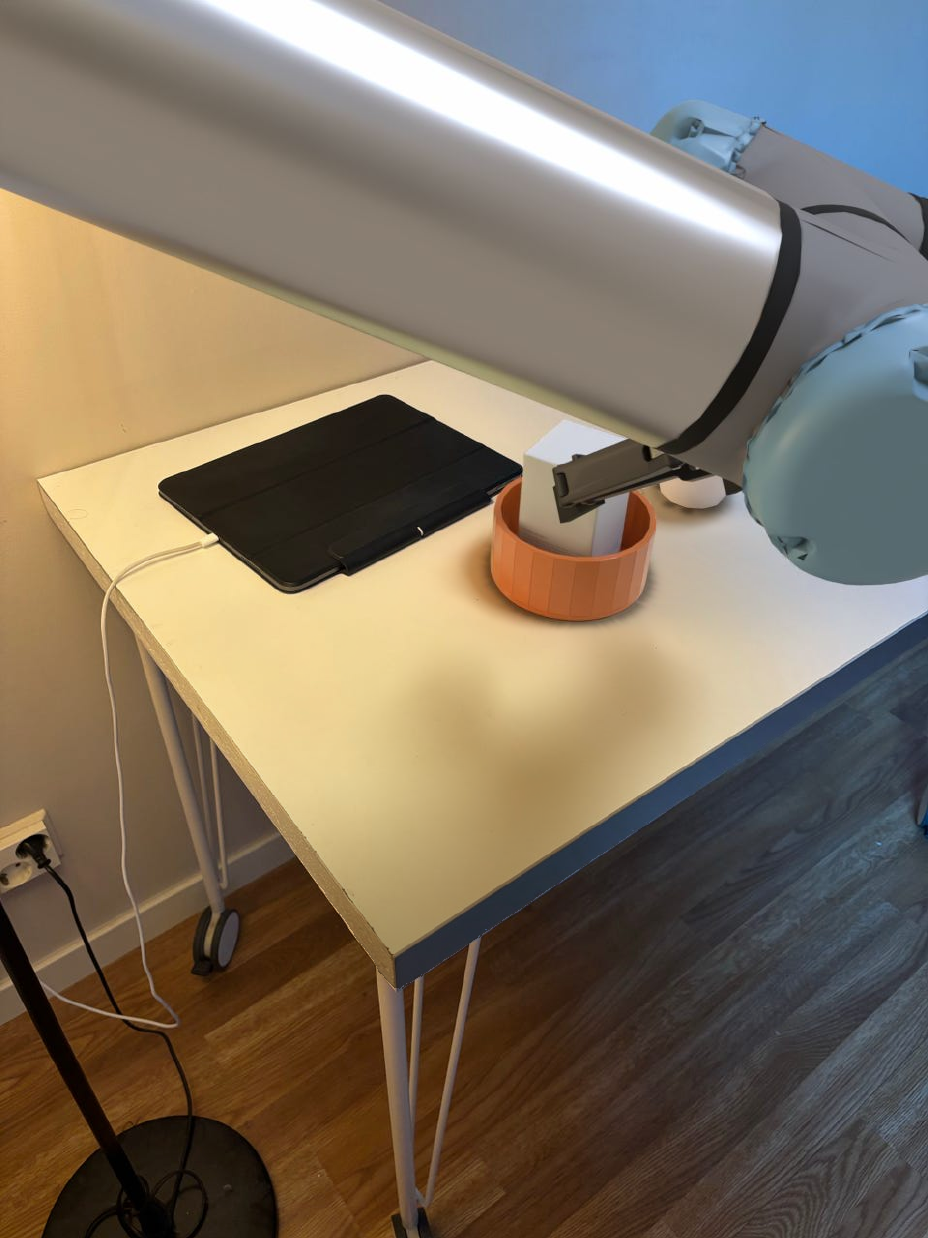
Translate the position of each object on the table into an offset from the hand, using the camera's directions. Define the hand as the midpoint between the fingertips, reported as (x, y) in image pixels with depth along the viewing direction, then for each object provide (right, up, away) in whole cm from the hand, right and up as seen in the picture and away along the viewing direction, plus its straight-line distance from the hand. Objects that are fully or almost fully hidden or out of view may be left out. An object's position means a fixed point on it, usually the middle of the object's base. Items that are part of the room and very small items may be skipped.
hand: (645, 490), depth 70 cm
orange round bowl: (-4, -5, +18) cm, 19 cm away
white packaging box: (-4, -5, +17) cm, 18 cm away
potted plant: (+10, +4, +29) cm, 31 cm away
